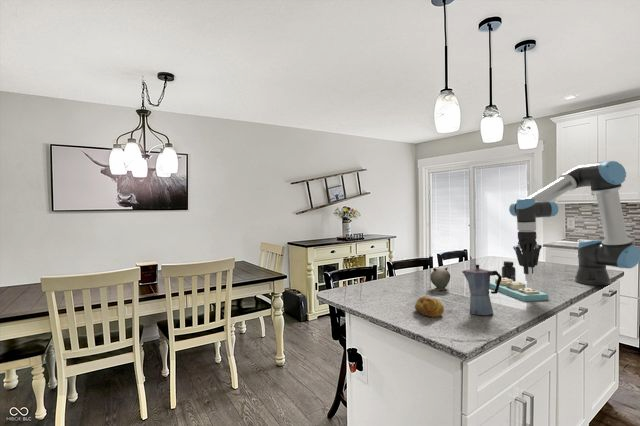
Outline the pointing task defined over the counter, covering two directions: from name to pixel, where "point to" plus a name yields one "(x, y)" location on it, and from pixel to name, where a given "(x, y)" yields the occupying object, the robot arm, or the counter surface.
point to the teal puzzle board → (519, 293)
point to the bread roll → (429, 307)
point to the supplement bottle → (509, 271)
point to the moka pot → (481, 290)
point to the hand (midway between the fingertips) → (528, 280)
